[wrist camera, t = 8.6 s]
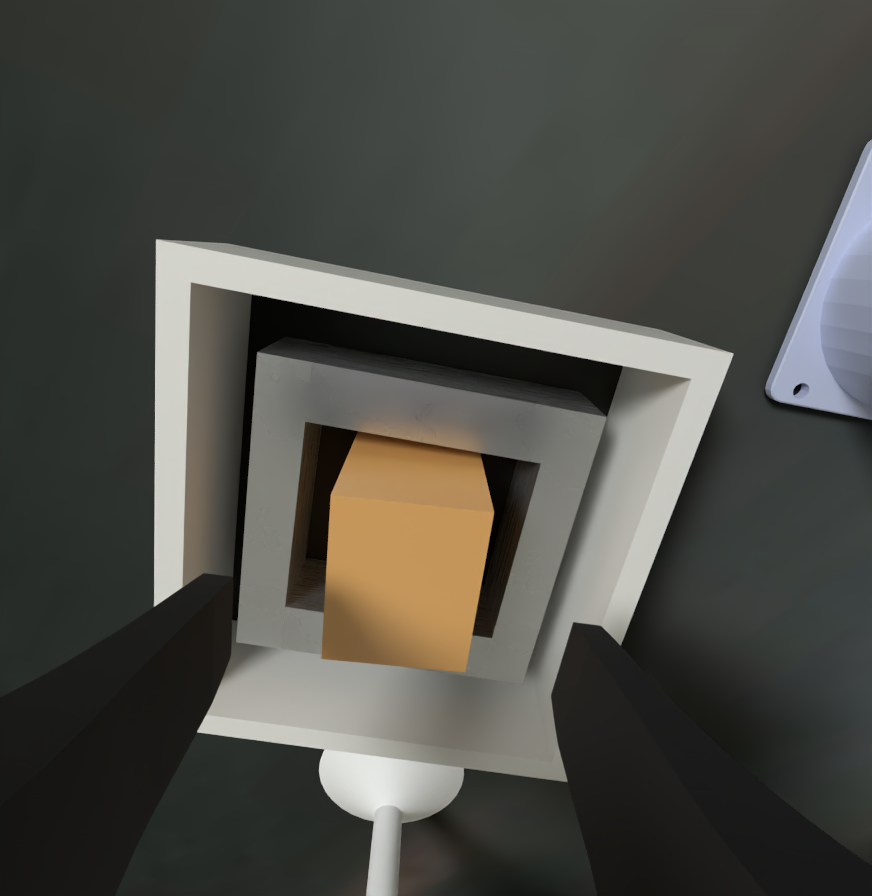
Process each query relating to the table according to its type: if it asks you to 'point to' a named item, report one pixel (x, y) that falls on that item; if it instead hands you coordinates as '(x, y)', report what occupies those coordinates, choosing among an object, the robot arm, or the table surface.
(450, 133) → the table surface
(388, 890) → the champagne flute
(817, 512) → the table surface
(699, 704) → the table surface
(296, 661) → the walled box
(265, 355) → the inlet socket
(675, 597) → the table surface
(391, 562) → the light brown rectangular block
